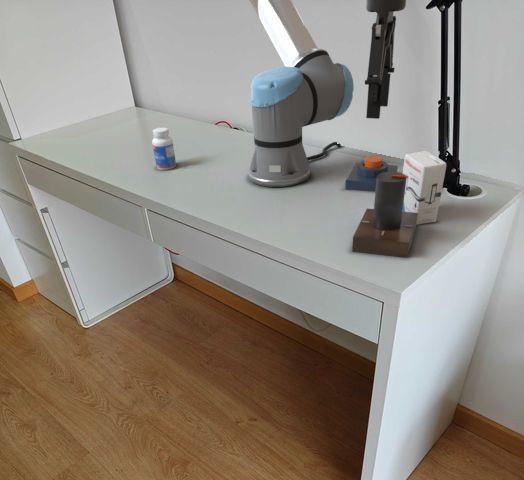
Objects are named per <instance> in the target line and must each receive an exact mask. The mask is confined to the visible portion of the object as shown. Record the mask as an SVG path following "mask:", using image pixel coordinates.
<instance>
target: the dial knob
mask: <svg viewBox="0 0 524 480" xmlns="http://www.w3.org/2000/svg"><path fill="white" fill-rule="evenodd" d="M406 179H407V176H406V175H405V174H403V172H399V171H397V172H384V173H380V174H378V175H377V179H376V190H375V192H374V203H373V209H374V213H373V226H374V227H376V228H378V229H382V230H394V229H397V228H399V227H400V226H401V219H402V211H403V203H404V195H405V187H406Z"/></svg>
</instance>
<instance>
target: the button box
mask: <svg viewBox="0 0 524 480" xmlns="http://www.w3.org/2000/svg"><path fill="white" fill-rule="evenodd" d="M364 163H365V160H363V161H360V162H356V163H355V165H354V166H353V168H352V170H351V171H350V173H349V175H348V176H347V178H346V179H345V190H351V191H361V192H362V191H363V192H373V193H375V190H376V179H377V175H378V174H380V173H384V172H398V167H399V166H398V164H388V162H386V161H383V160H382V167H380V168H367V167H364Z"/></svg>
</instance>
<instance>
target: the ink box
mask: <svg viewBox="0 0 524 480" xmlns="http://www.w3.org/2000/svg"><path fill="white" fill-rule="evenodd" d="M402 167H403V168H402V174H405V175H406V176H407V179H406V187H405V195H404V203H403V211H402V212H413V213H418V216H417V223H416V226H418V225H423V224H429V223H436V222H437V219H438V213H439V209H440V208H439V207H440V203H441V202H440V201H441V198H442V197H441V196H442V191H443V186H444V181H445V176H446V170H447V162H445V161H444V160H442V159H441V158H439V157H438V156H436V155H435V154H434V153H432V152H430V151H429V150H422V151H417V152H410V153H405V154H404V160H403V166H402Z"/></svg>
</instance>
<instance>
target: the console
mask: <svg viewBox="0 0 524 480" xmlns="http://www.w3.org/2000/svg"><path fill="white" fill-rule="evenodd" d="M373 213H374V208H366V209H365V211H364V214H363V215H362V217H361V220H360V222H359V224H358V226H357V228H356V230H355V232H354V233H353V236H352V246H351V248H352V249H351V251H352V252H354V253H363V254H373V255H379V256H389V257H395V258H396V257H397V258H406V259H407V258H408V256H409V253H410V249H411V247H412V246H411V245H412V243H413V239H414V235H415V231H416V229H417V225H416V223H417V216H418V213H413V212H402V219H401V226H400V227H399V228H397V229H394V230H382V229H378V228H376V227H374V226H373Z"/></svg>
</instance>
